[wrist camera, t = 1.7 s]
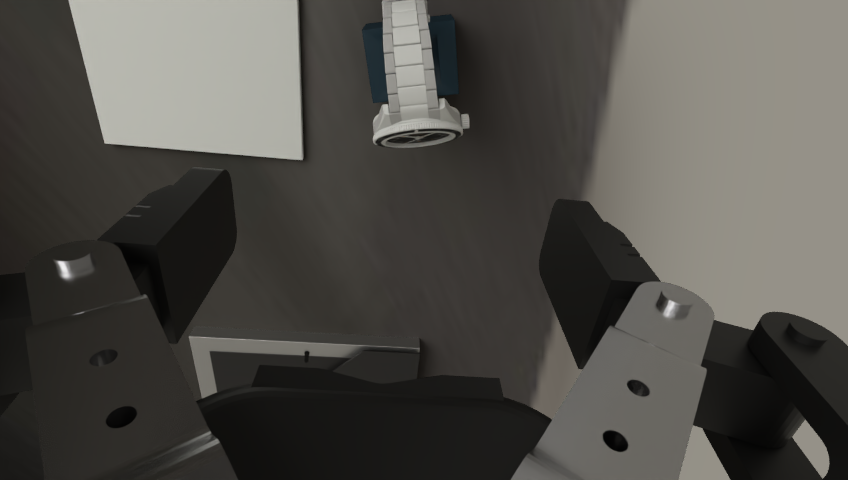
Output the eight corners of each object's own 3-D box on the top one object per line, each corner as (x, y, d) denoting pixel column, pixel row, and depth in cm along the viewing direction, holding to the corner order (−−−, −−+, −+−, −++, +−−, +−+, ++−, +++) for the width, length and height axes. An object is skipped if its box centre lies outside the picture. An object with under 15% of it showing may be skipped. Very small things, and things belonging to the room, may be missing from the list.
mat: (28, -184, 25) (21, -186, 25) (294, -149, 26) (292, -151, 26) (108, 141, 34) (104, 143, 34) (303, 157, 35) (302, 160, 35)
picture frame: (419, 333, 45) (197, 321, 44) (419, 354, 43) (185, 342, 42) (407, 438, 53) (219, 431, 52) (407, 461, 51) (209, 454, 50)
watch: (380, 118, 34) (368, 180, 25) (361, -7, 30) (338, 9, 20) (458, 110, 34) (476, 169, 24) (450, -17, 30) (468, -5, 20)
